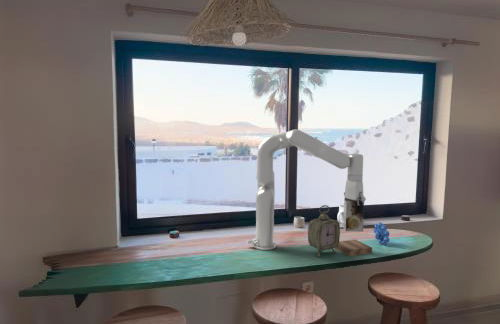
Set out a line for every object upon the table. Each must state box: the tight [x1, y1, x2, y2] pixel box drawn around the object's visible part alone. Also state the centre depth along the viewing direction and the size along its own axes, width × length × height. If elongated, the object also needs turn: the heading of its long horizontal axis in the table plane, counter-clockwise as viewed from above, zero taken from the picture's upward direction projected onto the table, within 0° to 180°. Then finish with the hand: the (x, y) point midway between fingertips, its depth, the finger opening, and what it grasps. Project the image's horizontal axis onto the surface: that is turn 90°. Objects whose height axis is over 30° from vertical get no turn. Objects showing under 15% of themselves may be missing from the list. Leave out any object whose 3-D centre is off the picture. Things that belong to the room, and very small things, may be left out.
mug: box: [336, 204, 344, 227], centre depth 227 cm, size 15×11×13 cm
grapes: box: [373, 222, 390, 246], centre depth 189 cm, size 12×7×12 cm, turn 21°
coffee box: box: [343, 198, 365, 233], centre depth 178 cm, size 9×6×16 cm
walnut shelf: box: [334, 239, 373, 257], centre depth 179 cm, size 14×14×3 cm
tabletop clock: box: [307, 204, 341, 258], centre depth 172 cm, size 14×9×25 cm, turn 122°
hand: (353, 210), depth 177 cm, fingers closed on coffee box, 8 cm apart
